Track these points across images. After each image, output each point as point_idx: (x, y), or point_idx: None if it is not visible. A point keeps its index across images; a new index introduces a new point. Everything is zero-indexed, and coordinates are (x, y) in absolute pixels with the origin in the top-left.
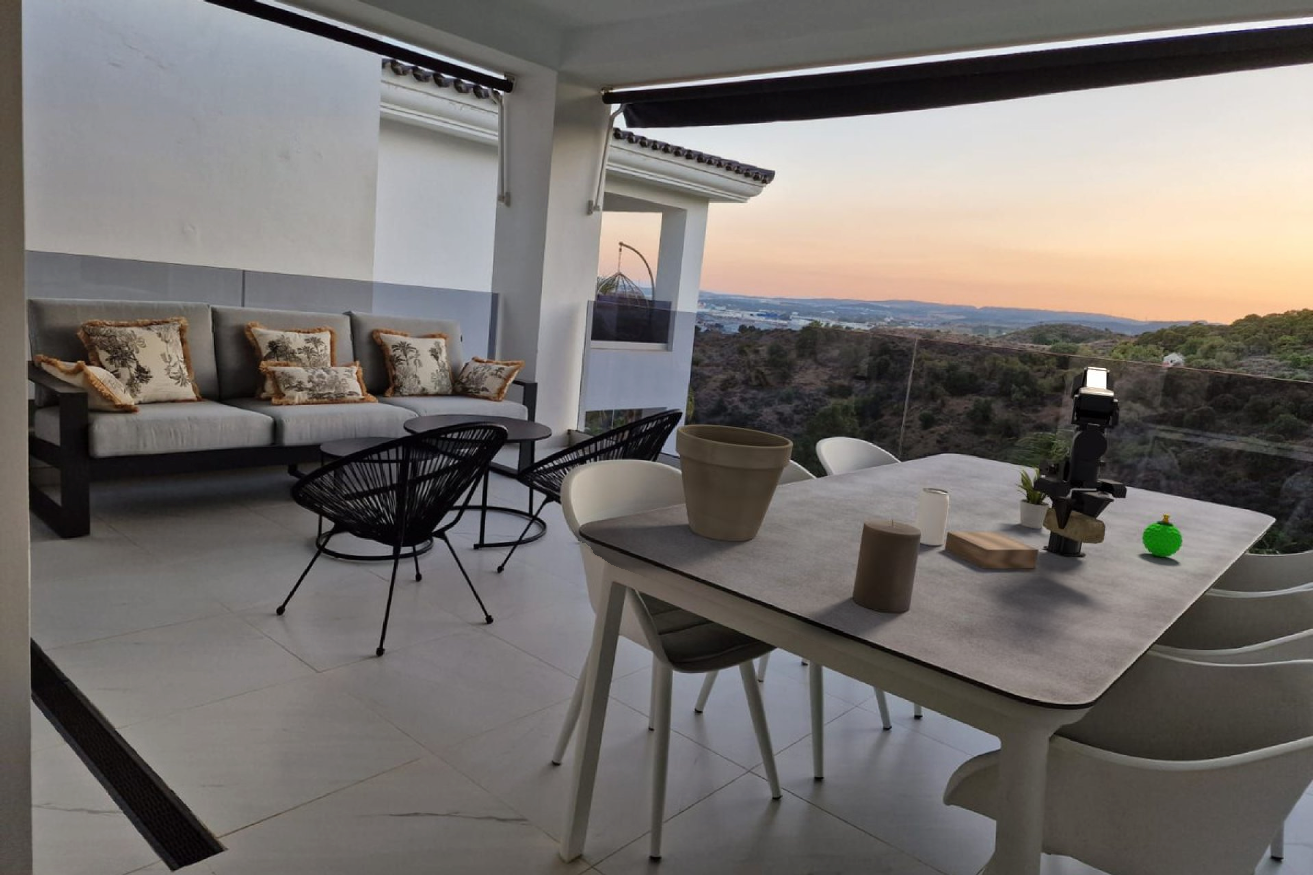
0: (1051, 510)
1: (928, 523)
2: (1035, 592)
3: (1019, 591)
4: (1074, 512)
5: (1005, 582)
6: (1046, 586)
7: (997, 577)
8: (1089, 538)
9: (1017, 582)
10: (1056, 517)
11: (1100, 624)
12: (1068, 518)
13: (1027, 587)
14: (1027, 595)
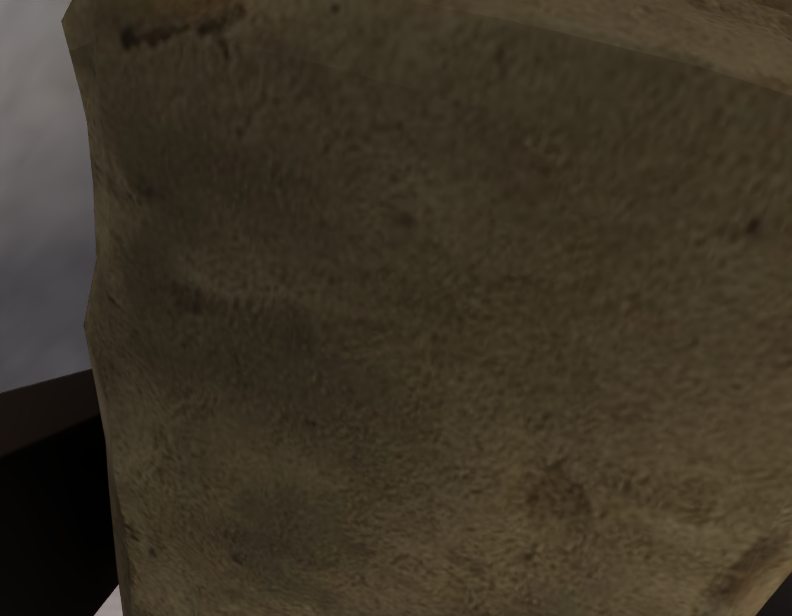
0: (93, 164)
1: None
2: (84, 329)
3: (11, 289)
4: (539, 561)
5: (15, 163)
6: None
7: (16, 75)
8: None
9: (85, 186)
10: (68, 378)
11: (108, 610)
12: (114, 580)
13: (90, 265)
14: (19, 338)
